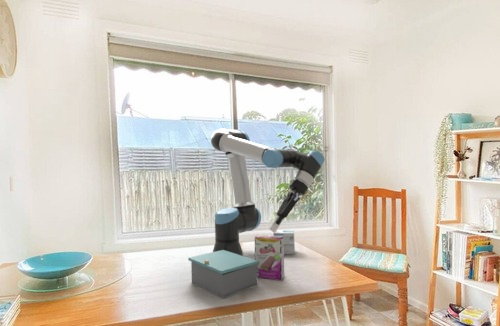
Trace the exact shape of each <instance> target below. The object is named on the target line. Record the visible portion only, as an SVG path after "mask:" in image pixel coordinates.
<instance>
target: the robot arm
mask: <svg viewBox="0 0 500 326" xmlns="http://www.w3.org/2000/svg"><path fill="white" fill-rule="evenodd" d="M210 143H211V146H212V147H213V148H214V150H216V151H219V152H223V153H225V157H226V158H227V159H228V160H229V166H230V167H229V168H230V176H231V181H232V187H233V188H232V189H233V197H234V205H233V206H232V207H227V208H222V209H218V210H217V211H216V212H215V214H214V236H215V237H214V238H215V239H214V246H213V250H212V252H216V251H220V250H225V251H229V252H232V253H235V254H238V255H241V256H244V251H243V249H242V246H241V242H240V234H243V233H245V232H250V231H251V232H252V231H253V230H256V229H257V228H258V227H259V226H260V224H261V221H262V214H261V212H260V211H261V210H259V208H258V207H256V203H255V202H253V200H252V197H251V190H250V189H251V188H250V182H249V175H248V174H249V173H248V168H247V161H246V158H247V159H249V160H253V161H256V162H259V163H261V164H263V165H264V166H265V167H267V168H273V169H275V168H294V169H297V172H296V173H295V175H294V177H293V179H292V180H291V182H290V183H289V186H288V187H289V189H290V192H288V193H287V195H285V196H284V198H283V200H282V202H281V204H280V206H279V209H278V210H277V212H276V216H275V218H274V219H273V221H272V223H271V224H270V226H269V227H268V229H269V231H271V232H273V234H274V233H275V232H276V230H278V228H279V227H280V226H281V224H282V222H283V221H284V219H285V218H287V217H288V216H289V214H290V213H291V211H292V210H293V209H294V207H295V206H296V204H297V203H298V202H299V200H300V199H301V197H300V196H305V195H306V193H307V191H308V190H309V188H310V186H311V185H312V184H313V181H314V179H315V178H316V176H317V174H318V173H319V171H320V170H321V168H323V167H322V166H323V164H324V163H325V160H326V158H325V155H323V154H322V153H321V152H319V151H317V150H310V151H309V152H308V153H304V152H300V151H297V150H296V149H295V150H294V149H292V148H289V147H288V148H287V147H286V148H283V149H277V148H275V147H274V148H273V147H270V146H266V145H263V144H260V143H256V142H253V141H251V140H250V137H249V134H247V132H245V131H244V130H239V129H228V128H218V129H216V130H215V131H214V132H213V133H212V134H211V137H210Z"/></svg>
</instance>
